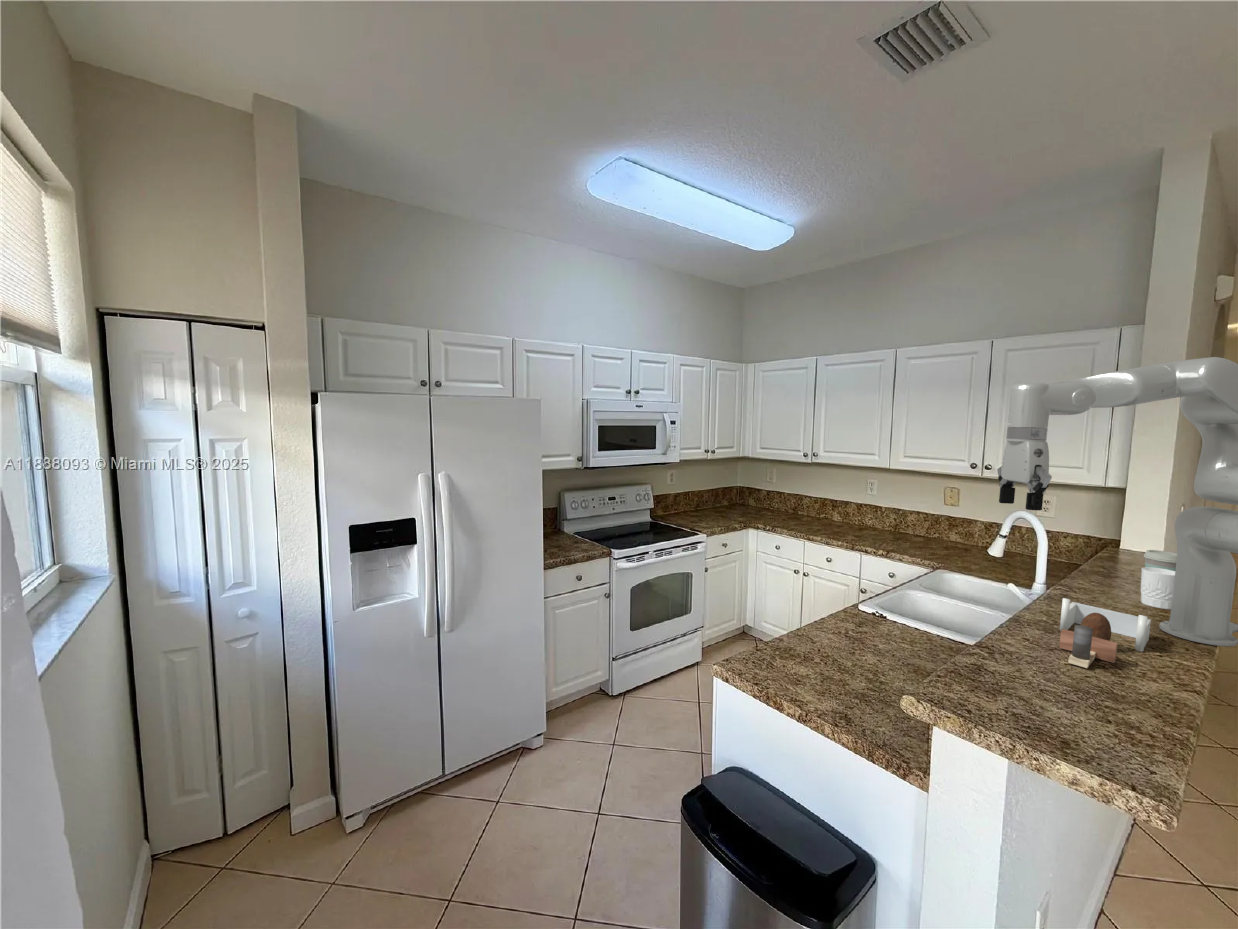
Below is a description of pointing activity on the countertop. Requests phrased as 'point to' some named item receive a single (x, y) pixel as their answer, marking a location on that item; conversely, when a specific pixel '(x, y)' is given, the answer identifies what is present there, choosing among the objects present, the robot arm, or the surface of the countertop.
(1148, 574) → the white cup
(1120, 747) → the countertop surface
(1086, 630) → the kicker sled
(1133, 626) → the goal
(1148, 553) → the coffee cup
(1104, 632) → the coconut
